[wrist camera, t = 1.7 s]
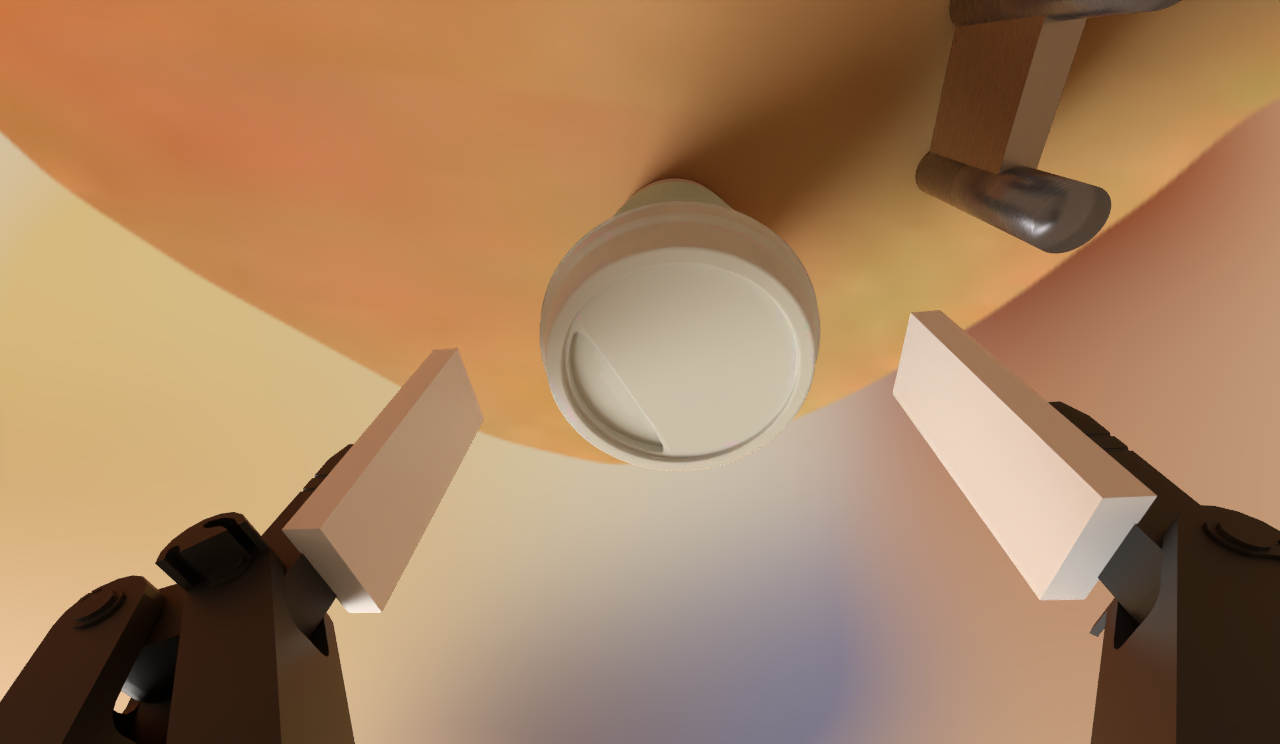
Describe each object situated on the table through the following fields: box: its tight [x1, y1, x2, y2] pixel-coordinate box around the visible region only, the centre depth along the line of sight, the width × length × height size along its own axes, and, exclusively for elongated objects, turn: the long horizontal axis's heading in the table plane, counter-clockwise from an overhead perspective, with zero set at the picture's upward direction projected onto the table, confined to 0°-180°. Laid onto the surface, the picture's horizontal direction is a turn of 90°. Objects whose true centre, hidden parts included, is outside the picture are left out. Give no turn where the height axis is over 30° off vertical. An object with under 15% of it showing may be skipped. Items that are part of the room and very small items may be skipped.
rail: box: [916, 0, 1181, 253], centre depth 15 cm, size 8×13×8 cm, turn 97°
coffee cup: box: [540, 178, 820, 471], centre depth 18 cm, size 8×8×12 cm
